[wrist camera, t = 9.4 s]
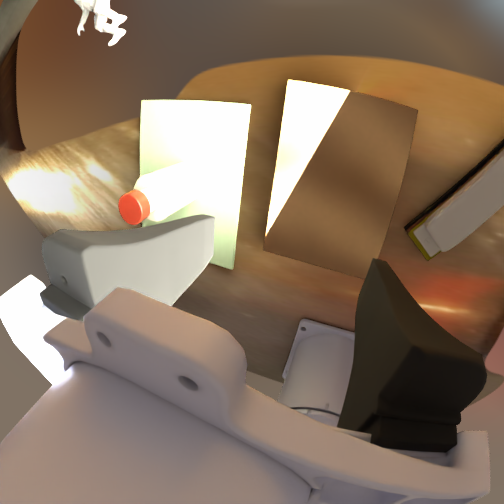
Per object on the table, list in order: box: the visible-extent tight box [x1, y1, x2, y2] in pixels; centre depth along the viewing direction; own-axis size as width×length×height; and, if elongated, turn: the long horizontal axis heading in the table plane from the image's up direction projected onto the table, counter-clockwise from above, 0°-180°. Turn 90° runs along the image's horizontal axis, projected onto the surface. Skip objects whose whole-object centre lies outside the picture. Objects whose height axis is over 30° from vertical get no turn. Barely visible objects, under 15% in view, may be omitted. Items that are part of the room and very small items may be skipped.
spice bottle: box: [118, 162, 202, 225], centre depth 20 cm, size 4×4×7 cm
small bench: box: [263, 80, 418, 279], centre depth 18 cm, size 12×8×2 cm, turn 173°
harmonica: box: [404, 140, 504, 261], centre depth 14 cm, size 15×3×2 cm, turn 139°
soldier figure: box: [74, 0, 127, 46], centre depth 15 cm, size 8×5×12 cm
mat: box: [140, 100, 251, 269], centre depth 23 cm, size 14×10×1 cm
